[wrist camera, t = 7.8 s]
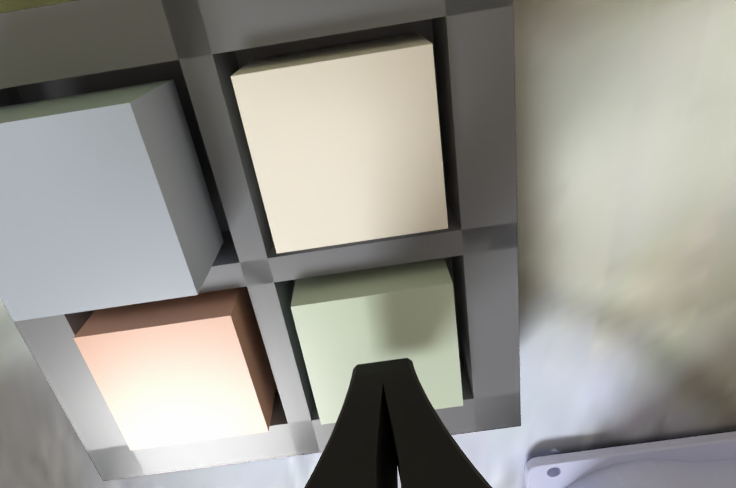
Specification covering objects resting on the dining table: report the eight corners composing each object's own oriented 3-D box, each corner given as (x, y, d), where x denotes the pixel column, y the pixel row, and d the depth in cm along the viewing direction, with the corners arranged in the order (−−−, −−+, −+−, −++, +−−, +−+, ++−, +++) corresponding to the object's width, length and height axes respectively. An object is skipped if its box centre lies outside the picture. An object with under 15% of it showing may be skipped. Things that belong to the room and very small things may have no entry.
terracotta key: (248, 265, 15) (230, 315, 13) (279, 371, 17) (268, 432, 14) (114, 285, 15) (73, 337, 13) (159, 388, 17) (130, 450, 15)
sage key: (437, 238, 15) (453, 283, 12) (447, 348, 16) (463, 405, 14) (299, 258, 15) (290, 306, 13) (325, 365, 17) (321, 424, 14)
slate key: (173, 79, 11) (129, 102, 9) (224, 241, 13) (197, 294, 11) (-4, 107, 11) (-91, 137, 9) (70, 264, 13) (13, 321, 11)
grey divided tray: (481, -63, 12) (511, -73, 10) (499, 370, 18) (520, 425, 16) (-57, 28, 12) (-146, 38, 10) (133, 420, 18) (103, 480, 16)
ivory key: (417, 32, 12) (432, 43, 10) (432, 189, 14) (448, 228, 12) (251, 59, 12) (230, 76, 10) (288, 210, 14) (276, 253, 12)
